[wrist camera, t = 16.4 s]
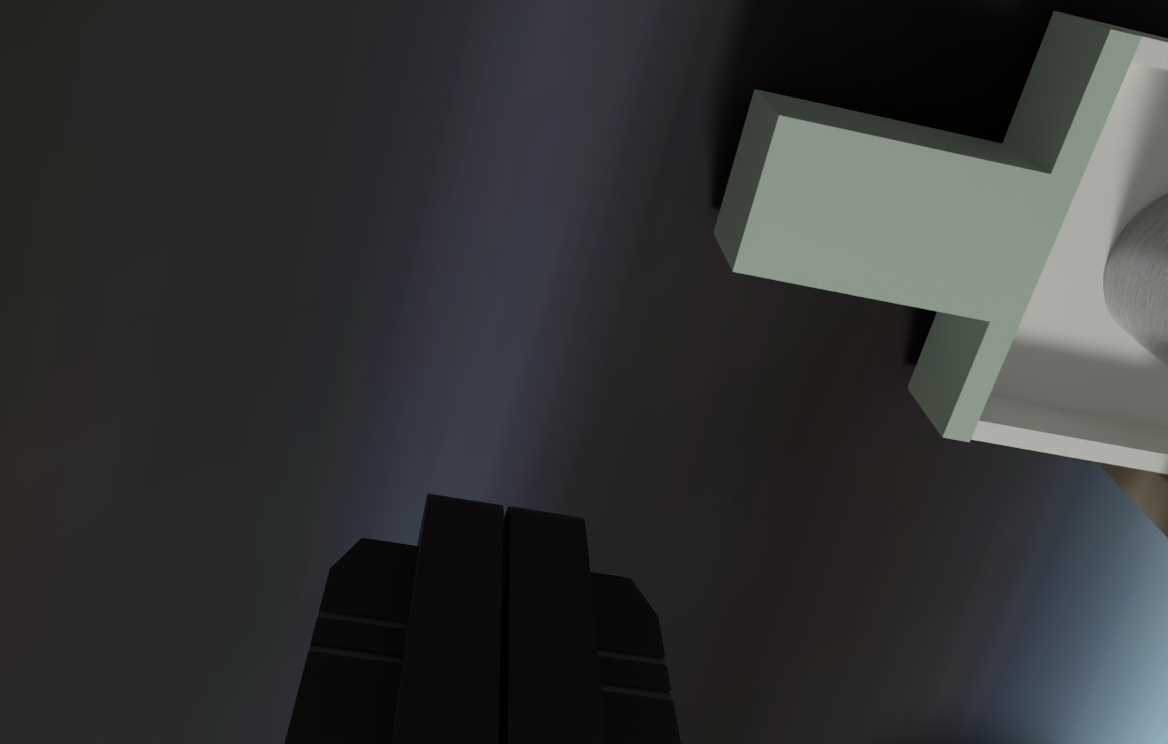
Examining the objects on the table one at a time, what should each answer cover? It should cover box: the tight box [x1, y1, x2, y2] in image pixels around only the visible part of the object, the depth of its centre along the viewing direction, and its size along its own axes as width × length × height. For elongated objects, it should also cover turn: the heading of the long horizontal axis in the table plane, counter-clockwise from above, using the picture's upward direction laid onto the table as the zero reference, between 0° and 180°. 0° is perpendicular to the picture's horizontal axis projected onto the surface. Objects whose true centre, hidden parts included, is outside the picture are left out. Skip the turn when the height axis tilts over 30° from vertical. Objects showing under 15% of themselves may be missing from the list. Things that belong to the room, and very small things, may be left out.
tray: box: [714, 11, 1168, 474], centre depth 29 cm, size 11×19×3 cm, turn 77°
